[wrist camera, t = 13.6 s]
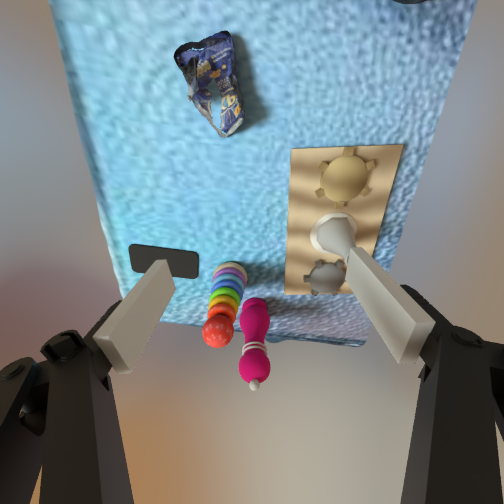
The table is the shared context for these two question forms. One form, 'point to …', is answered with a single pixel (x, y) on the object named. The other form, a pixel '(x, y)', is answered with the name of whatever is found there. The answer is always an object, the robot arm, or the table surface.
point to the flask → (336, 237)
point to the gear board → (334, 209)
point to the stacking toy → (224, 303)
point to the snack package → (222, 69)
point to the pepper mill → (254, 342)
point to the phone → (178, 260)
